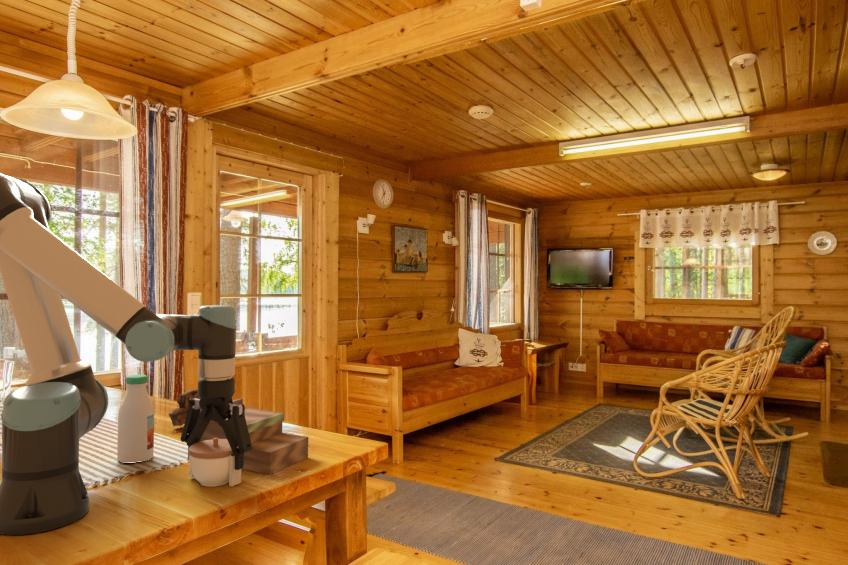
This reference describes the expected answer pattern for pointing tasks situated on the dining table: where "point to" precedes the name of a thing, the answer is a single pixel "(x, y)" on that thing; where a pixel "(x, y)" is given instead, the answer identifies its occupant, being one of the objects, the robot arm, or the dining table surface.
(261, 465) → the stepped stand
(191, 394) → the wooden carving
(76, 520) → the robot arm
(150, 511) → the dining table surface
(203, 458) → the lidded jar
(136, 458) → the milk bottle
